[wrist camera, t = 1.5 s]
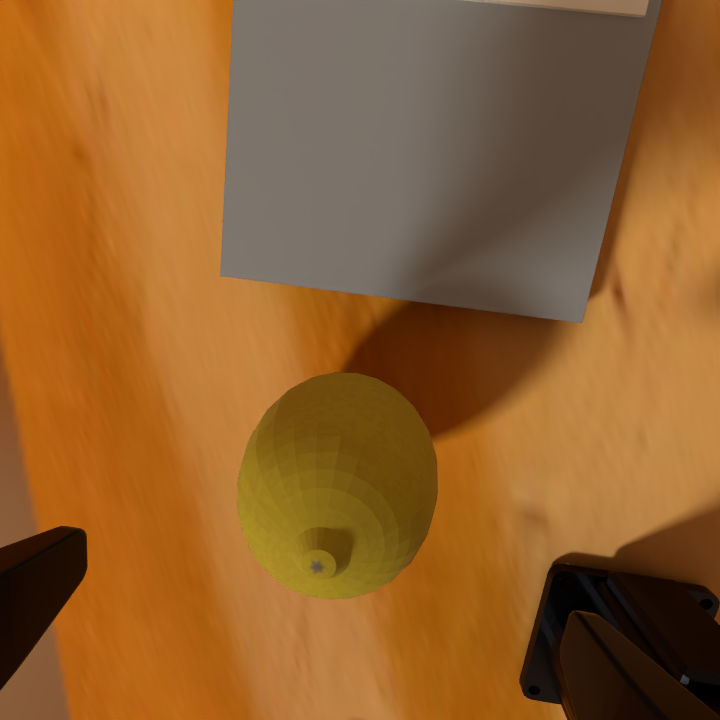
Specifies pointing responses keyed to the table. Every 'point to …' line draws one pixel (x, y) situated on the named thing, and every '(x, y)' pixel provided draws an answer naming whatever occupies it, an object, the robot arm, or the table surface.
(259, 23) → the grey flat block
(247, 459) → the lemon
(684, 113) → the table surface
